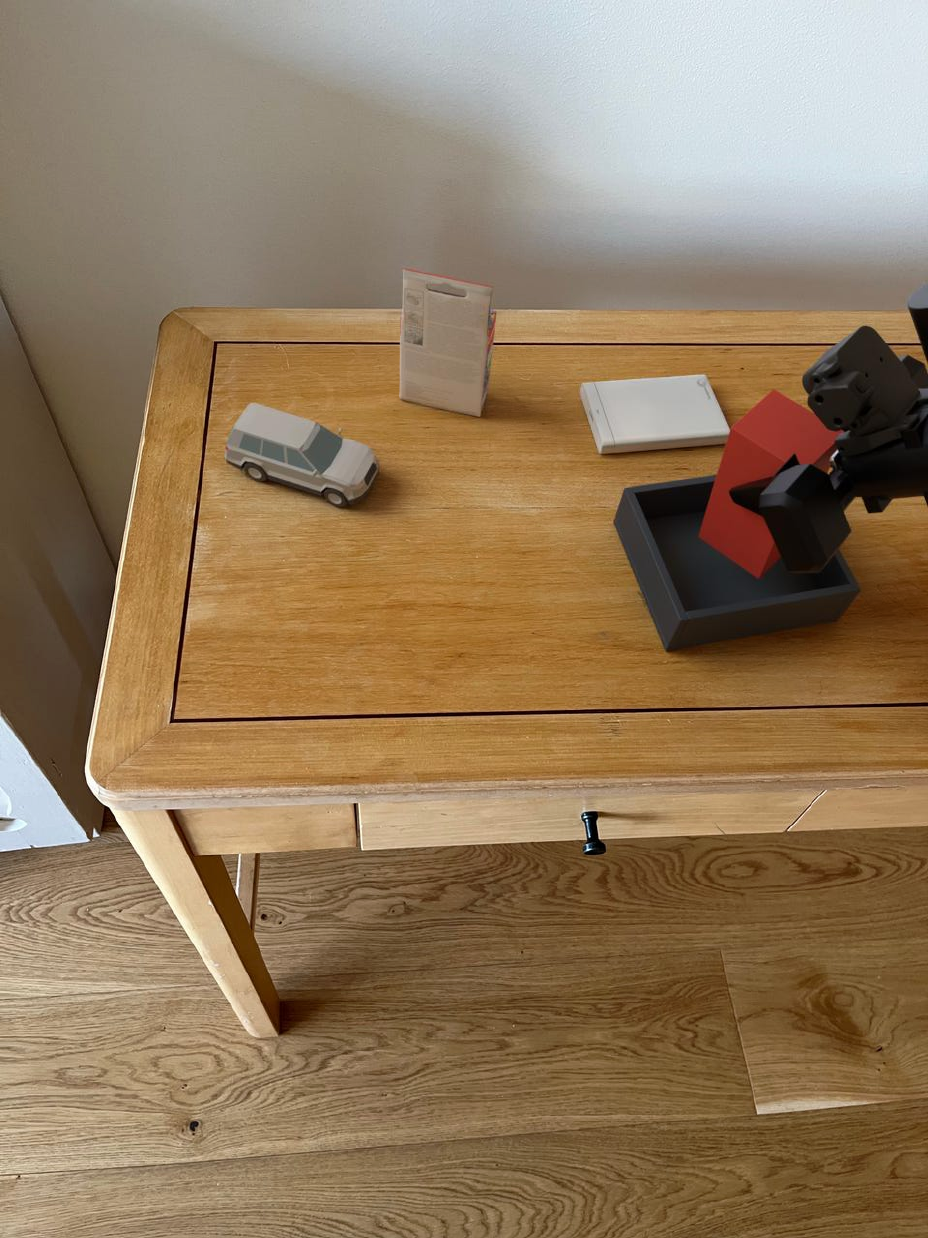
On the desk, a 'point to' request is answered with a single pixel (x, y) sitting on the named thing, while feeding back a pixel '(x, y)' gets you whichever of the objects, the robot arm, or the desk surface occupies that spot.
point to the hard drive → (653, 413)
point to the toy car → (301, 455)
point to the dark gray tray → (715, 573)
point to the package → (761, 475)
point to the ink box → (445, 343)
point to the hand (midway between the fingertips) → (752, 473)
